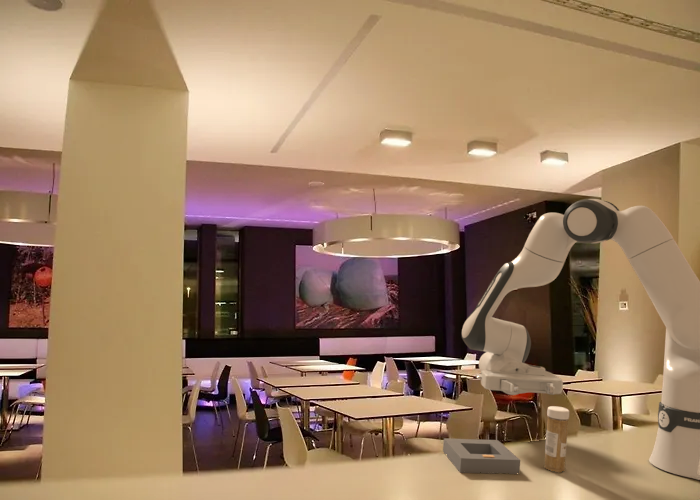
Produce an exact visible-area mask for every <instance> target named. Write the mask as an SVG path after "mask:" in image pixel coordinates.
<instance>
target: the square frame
mask: <svg viewBox="0 0 700 500" xmlns="http://www.w3.org/2000/svg"><path fill="white" fill-rule="evenodd" d="M442 452H443V453H444V455H445V454H447V456H446V457H447V458H448V459H449V461H450V462H451V463H452V464H453V466H454V467H455V468H456V469H457V471H458V472H459V473H460V474H461V473H462V474H463V473H466V474H468V473H470V474H495V473H509V474H508V475H520V470H521V469H520V468H521V459H520V458H519V457H518V456H516V455H515V454H514V453H513V452H512V451H511V450H510V449H509V448H507V447H506V446H505V445H504V444H503V443H502V442H501V441H499V440H498V439H473V438H471V439H470V438H443V442H442ZM480 472H481V473H480ZM517 473H518V474H517Z"/></svg>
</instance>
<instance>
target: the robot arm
mask: <svg viewBox="0 0 700 500" xmlns="http://www.w3.org/2000/svg"><path fill="white" fill-rule="evenodd" d="M609 240H611V241H614V242H615V243H617V245H618V246H619V247H620V248H621V249H622V251H623V253H624V255H625V257H626V259H627V260H628V262H629V265H630V266H631V267H632V270H633V271H634V272H635V275H636V276H637V278H638V280H639V282H640V283H641V285H642V286H643V288H644V290H645V292H646V294H647V296H648V298H649V299H650V301H651V303H652V304H653V306H654V308H655V310H656V312H657V314H658V316H659V318H660V319H661V321H662V323H663V325H664V326H665V339H664V340H665V341H664V354H663V355H664V357H663V358H664V359H663V373H662V375H663V376H662V388H661V401H660V402H658V412H657V425H658V428H657V433H656V437H655V442H654V445H653V449H652V451H651V455H650V456H649V458H648V461H649V463H650V464H651V465H653V466H654V467H656V468H658V469H660V470H662V471H665V472H668V473H671V474H674V475H678V476H681V477H685V478H690V479H694V480H697V481H700V279H699V277H698V276H697V274H696V273H695V271H694V270H693V268H692V266H691V264H690V263H689V262H688V260H687V258H686V257H685V255H684V253H683V252H682V250H681V248H680V247H679V245H678V243H677V242H676V240H675V238H674V237H673V234H672V233H671V232H670V230H669V229H668V228H667V226H666V225H665V224H664V222H663V221H662V220H661V219H660V217H659V216H658V215H657V213H656V212H655V211H653V210H652V208H650V207H649V206H646V205H635V206H630V207H628V208H625V209H623V210H620V209H619V208H618V207H617V206H616V205H615V204H614V203H612V202H610V201H608V200H607V201H606V200H602V199H599V198H588V199H585V198H584V199H580V200H578V201H576V202H574V203H572V204H571V205H570V206H569V207H568V208H567V209H566V210H565V212H564V214H563V213H559V212H547V213H544V214H542V215H540V217H539V218H538V219H537V221H536V222H535V224H534V226H533V227H532V229H531V231H530V232H529V234H528V237H527V239H526V241H525V242H524V245H523V248H522V250H521V251H520V253H519V254H518V255H517V256H516V257H515V258H514V259H512V261H509V262H505V263H504V264H503V265H502V266H501V267H500V269H498V271H497V273H496V274H495V276H494V277H493V278H492V280H491V282H490V283H489V284H488V287H487V289H486V290H485V292H484V293H483V295H482V296H481V298H480V299H479V301H478V303H477V304H476V307H475V308H474V310H472V312H471V313H470V314H469V316H467V318H466V320H465V321H464V323H463V325H462V329H461V335H460V336H461V339H462V341H463V342H464V344H465V345H466V346H467V348H468V349H469V350H472V351H479V352H484V353H483V354H482V355H481V356H480V358H479V360H478V369H479V371H480V373H475V374H476V375H475V378H476V379H478V380H480V385H481V386H482V387H483V388H484V389H485V390H489V391H501V392H503V393H505V394H507V395H510V396H516V395H519V394H526V393H532V394H533V393H536V394H547V395H560V394H562V393H563V388H564V382H563V381H564V380H563V379H562V378H560V377H559V376H557V375H556V374H554V373H552V372H550V371H547V370H546V368H545V367H544V366H539V365H533V364H528V363H526V361H527V359H528V356H529V354H530V352H531V351H530V350H531V346H532V340H531V337H530V336H531V335H530V333H529V331H528V329H527V328H526V327H525V325H522V324H520V323H515V322H513V321H508V320H505V319H504V320H503V319H501V318H500V319H499V318H497V317H496V318H495V317H493V316H494V314H495V313H496V311H497V309H498V308H499V306H500V305H501V303H502V302H503V299H504V298H505V296H507V294H509V293H510V292H512V291H515V290H518V289H523V288H535V287H536V288H537V287H541V286H542V287H543V286H545V285H549V284H550V283H552V282H553V281H555V279H557V277H558V276H559V275H560V273H561V271H562V269H563V267H564V265H565V263H566V259H567V257H568V255H569V252H570V251H571V249H572V248H573V246H574V245H575V243H581V244H600V243H604V242H606V241H609Z"/></svg>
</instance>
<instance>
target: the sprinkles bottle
mask: <svg viewBox="0 0 700 500" xmlns="http://www.w3.org/2000/svg"><path fill="white" fill-rule="evenodd" d="M546 414H547V422H546V423H547V424H546V425H547V426H546V433H545V447H544V448H545V450H544V453H545V455H544V464H543V467H545V468H546V469H545V470H547V469H548V470H547V471H549V470H551V471H550V472H552V471H555V472H554V473H563V472H562V471H564V472H565V471H566V455H567V442H568V441H567V440H568V424H569V423H568V422H569V419H570V410H569V409H568V408H566V407H562V406H557V405H556V406H555V405H551V406H548V407H547V411H546Z"/></svg>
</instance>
